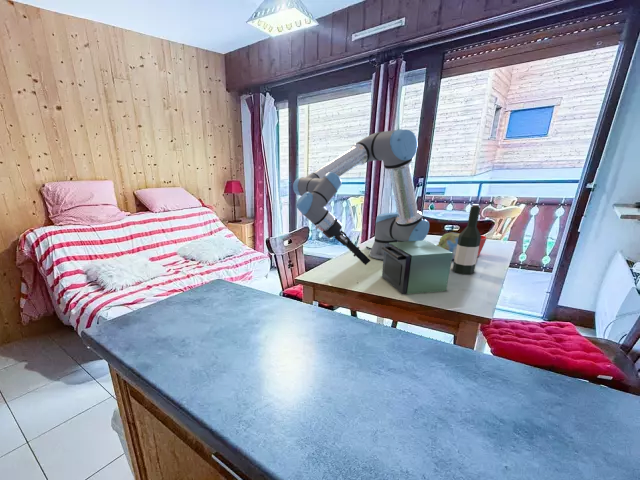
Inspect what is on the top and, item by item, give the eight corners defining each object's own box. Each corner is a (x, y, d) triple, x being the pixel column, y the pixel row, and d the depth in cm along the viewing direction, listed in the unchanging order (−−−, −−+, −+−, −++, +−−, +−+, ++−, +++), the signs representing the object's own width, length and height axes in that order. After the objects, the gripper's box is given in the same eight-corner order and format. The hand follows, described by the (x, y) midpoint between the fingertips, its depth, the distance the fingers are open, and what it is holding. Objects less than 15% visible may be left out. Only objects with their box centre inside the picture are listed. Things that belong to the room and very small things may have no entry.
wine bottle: (472, 275, 144) (487, 206, 132) (451, 272, 148) (463, 205, 137) (474, 269, 150) (488, 203, 139) (453, 267, 154) (465, 202, 143)
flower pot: (482, 252, 172) (486, 234, 169) (482, 258, 164) (486, 239, 160) (459, 250, 178) (462, 233, 174) (458, 256, 169) (461, 237, 166)
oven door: (396, 294, 130) (400, 256, 124) (377, 277, 148) (379, 243, 142) (406, 293, 130) (410, 255, 124) (385, 276, 148) (388, 242, 142)
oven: (406, 294, 130) (411, 255, 124) (385, 276, 148) (389, 242, 142) (446, 291, 130) (453, 252, 124) (420, 274, 149) (425, 240, 143)
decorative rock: (469, 231, 154) (460, 225, 168) (432, 240, 160) (427, 234, 173) (474, 258, 157) (465, 251, 171) (438, 266, 163) (432, 259, 177)
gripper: (318, 228, 135) (355, 264, 142) (326, 235, 123) (366, 274, 130) (331, 214, 133) (368, 251, 140) (340, 220, 121) (380, 260, 128)
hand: (367, 262), depth 135 cm, fingers closed
